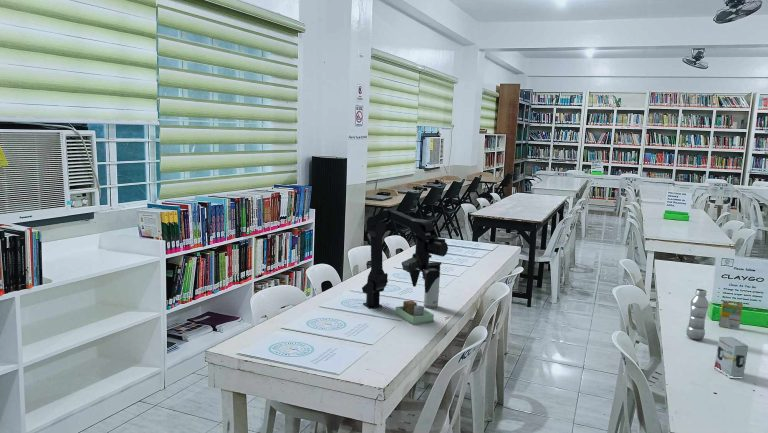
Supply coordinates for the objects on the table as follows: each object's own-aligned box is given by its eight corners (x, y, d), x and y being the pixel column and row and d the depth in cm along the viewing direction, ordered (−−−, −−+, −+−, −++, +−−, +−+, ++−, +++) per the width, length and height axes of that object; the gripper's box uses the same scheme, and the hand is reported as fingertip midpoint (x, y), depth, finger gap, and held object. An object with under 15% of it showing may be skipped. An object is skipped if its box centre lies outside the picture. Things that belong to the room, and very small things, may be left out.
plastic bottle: (702, 337, 231) (708, 289, 228) (705, 343, 225) (712, 293, 222) (684, 334, 233) (690, 286, 230) (687, 340, 227) (693, 291, 224)
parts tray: (395, 313, 242) (395, 306, 241) (415, 311, 247) (415, 304, 246) (412, 324, 230) (412, 317, 229) (433, 321, 235) (433, 314, 234)
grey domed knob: (410, 317, 236) (411, 305, 235) (420, 316, 238) (420, 304, 237) (416, 321, 232) (417, 309, 231) (426, 319, 234) (427, 308, 233)
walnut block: (402, 312, 242) (403, 301, 241) (411, 311, 244) (411, 300, 243) (407, 315, 238) (408, 304, 238) (416, 314, 240) (416, 302, 240)
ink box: (713, 368, 201) (718, 335, 199) (726, 368, 201) (731, 336, 199) (730, 379, 192) (735, 345, 190) (743, 379, 193) (749, 345, 191)
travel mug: (437, 309, 250) (440, 264, 247) (422, 307, 252) (425, 263, 248) (439, 305, 256) (442, 261, 253) (424, 303, 258) (427, 260, 254)
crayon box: (738, 328, 245) (742, 301, 243) (739, 330, 242) (743, 303, 240) (718, 324, 248) (722, 298, 246) (719, 326, 245) (723, 300, 243)
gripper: (393, 248, 235) (391, 285, 237) (417, 258, 219) (415, 298, 221) (416, 246, 240) (414, 282, 243) (442, 256, 224) (439, 295, 226)
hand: (420, 289), depth 233 cm, fingers open, 9 cm apart
